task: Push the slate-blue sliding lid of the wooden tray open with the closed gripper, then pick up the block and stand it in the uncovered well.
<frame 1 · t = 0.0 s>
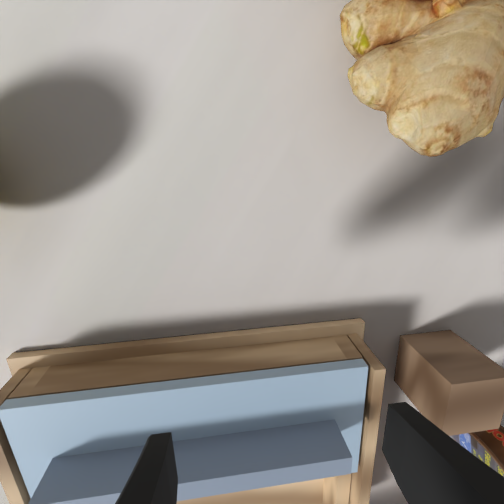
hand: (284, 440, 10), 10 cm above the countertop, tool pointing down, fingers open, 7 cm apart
wooden tray: (208, 440, 22), on the countertop
lid: (201, 459, 16), point 5 cm above the countertop, slide at 0.0 cm
ginger root: (442, 8, 16), on the countertop
block: (421, 355, 23), on the countertop
tin: (448, 447, 27), on the countertop
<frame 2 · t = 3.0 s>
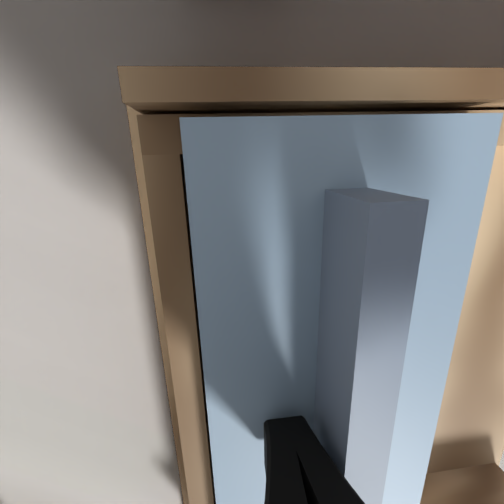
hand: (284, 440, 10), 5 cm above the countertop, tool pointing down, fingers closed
wooden tray: (360, 343, 15), on the countertop
lid: (340, 442, 10), point 5 cm above the countertop, slide at 1.4 cm, touching gripper
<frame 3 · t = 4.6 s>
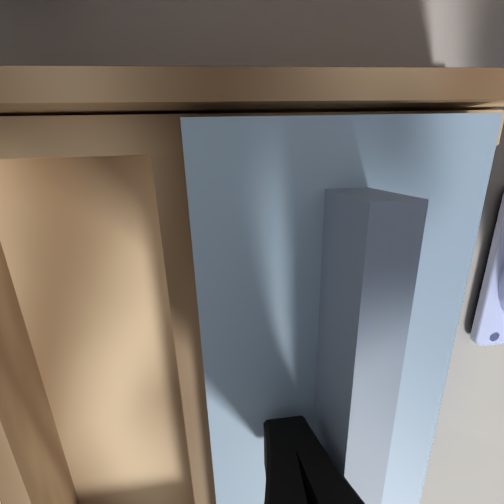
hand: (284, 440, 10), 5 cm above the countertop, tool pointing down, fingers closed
wooden tray: (222, 357, 14), on the countertop
lid: (340, 441, 10), point 5 cm above the countertop, slide at 8.2 cm, touching gripper
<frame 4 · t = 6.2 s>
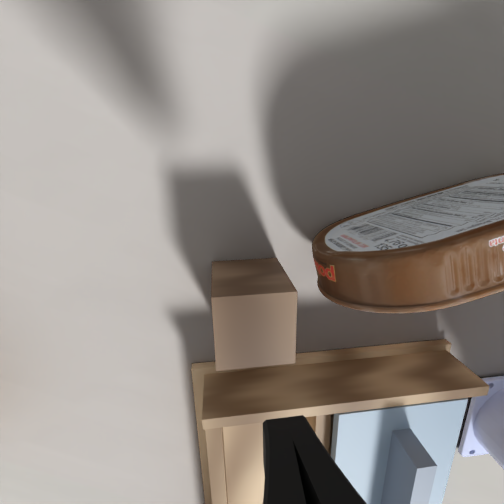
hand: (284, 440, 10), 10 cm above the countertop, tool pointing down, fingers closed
wooden tray: (317, 466, 25), on the countertop
block: (245, 288, 19), on the countertop
tin: (406, 212, 19), on the countertop
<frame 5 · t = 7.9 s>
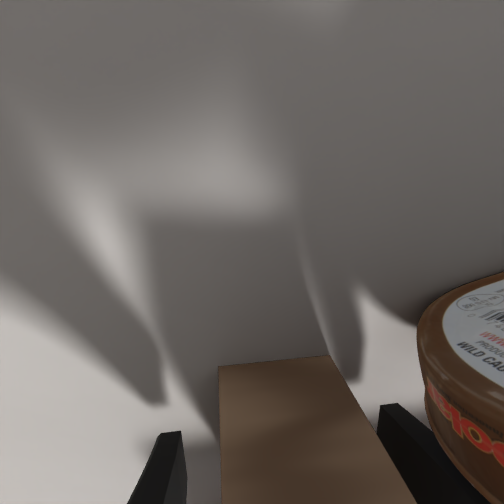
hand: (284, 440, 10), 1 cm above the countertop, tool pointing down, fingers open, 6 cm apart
block: (275, 404, 11), on the countertop
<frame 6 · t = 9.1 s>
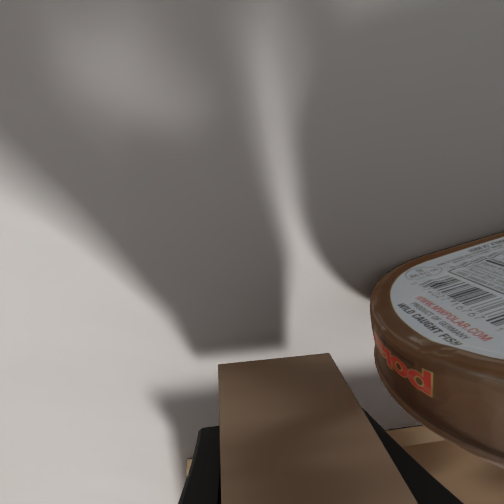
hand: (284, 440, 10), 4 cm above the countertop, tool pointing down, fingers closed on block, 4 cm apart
block: (274, 403, 11), point 2 cm above the countertop, touching gripper
tin: (490, 251, 13), on the countertop
when the fingers open (4 cm above the countertop, at t = 11.7 s): block drops 2 cm, resting on wooden tray.
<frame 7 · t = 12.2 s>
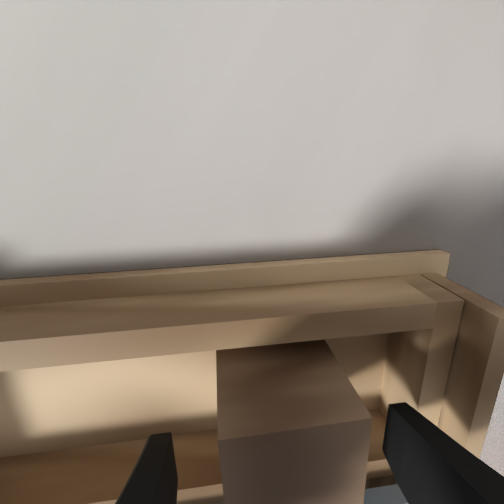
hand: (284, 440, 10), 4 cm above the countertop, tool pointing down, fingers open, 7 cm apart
wooden tray: (194, 445, 14), on the countertop
block: (266, 364, 13), point 1 cm above the countertop, touching wooden tray
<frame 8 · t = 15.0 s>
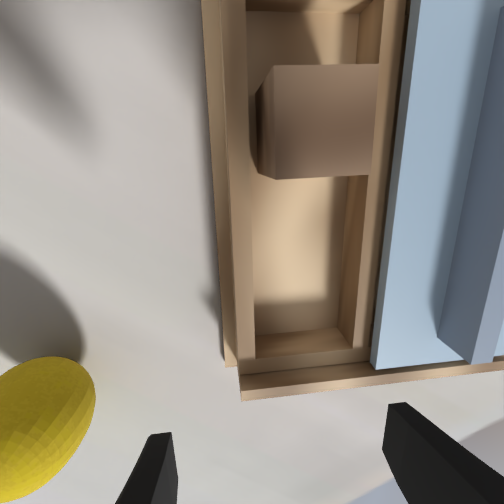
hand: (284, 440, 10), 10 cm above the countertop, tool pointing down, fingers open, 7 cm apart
wooden tray: (365, 193, 18), on the countertop
lid: (489, 201, 14), point 5 cm above the countertop, slide at 8.2 cm
lemon: (70, 365, 20), on the countertop
block: (292, 133, 16), point 1 cm above the countertop, touching wooden tray
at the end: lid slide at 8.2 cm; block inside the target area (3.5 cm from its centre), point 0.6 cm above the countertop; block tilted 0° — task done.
